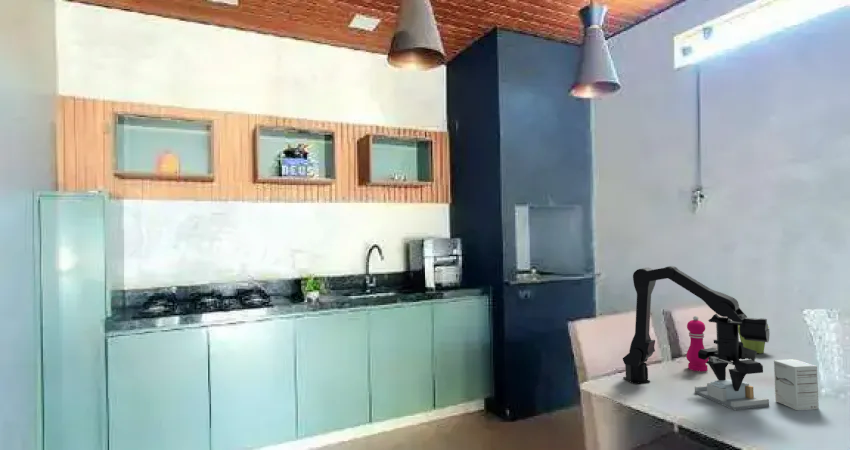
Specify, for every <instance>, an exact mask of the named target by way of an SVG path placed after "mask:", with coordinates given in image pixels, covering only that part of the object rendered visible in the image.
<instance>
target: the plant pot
mask: <svg viewBox="0 0 850 450" xmlns="http://www.w3.org/2000/svg"><path fill="white" fill-rule="evenodd" d="M768 329H770V326H769V325H768ZM738 331H739V341H740V342H742V343H743V347H745V348H748V349H751V350H754V351H757V353H756V354H764V353H765V346H766V342H760V341H751V340H745V339H744V337H742V336H741V335H740V325H738Z"/></svg>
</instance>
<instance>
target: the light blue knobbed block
mask: <svg viewBox="0 0 850 450" xmlns="http://www.w3.org/2000/svg"><path fill="white" fill-rule="evenodd" d="M710 383H711V385H714V386H716V387H719V388H724V389H726V399H727V400H729V399H738V398H746V397H745V386H749V385H750V383H748V382H746V381H742V384H741V386H740V389H739V391H735V390H734V388H733V384H732V380H731V378H729V379H726V380H719V381H718V380H714V381H710Z"/></svg>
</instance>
